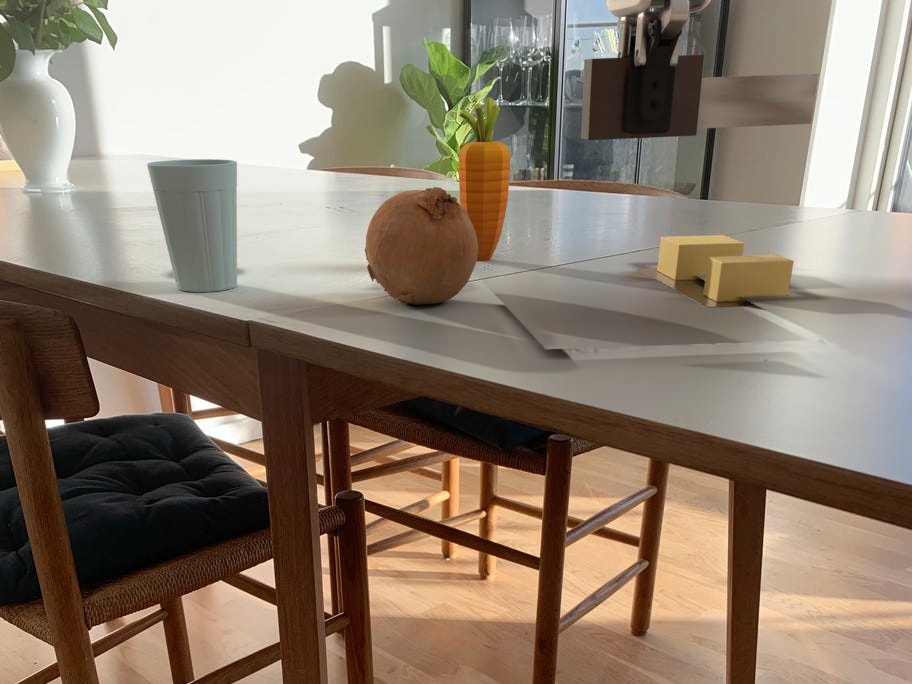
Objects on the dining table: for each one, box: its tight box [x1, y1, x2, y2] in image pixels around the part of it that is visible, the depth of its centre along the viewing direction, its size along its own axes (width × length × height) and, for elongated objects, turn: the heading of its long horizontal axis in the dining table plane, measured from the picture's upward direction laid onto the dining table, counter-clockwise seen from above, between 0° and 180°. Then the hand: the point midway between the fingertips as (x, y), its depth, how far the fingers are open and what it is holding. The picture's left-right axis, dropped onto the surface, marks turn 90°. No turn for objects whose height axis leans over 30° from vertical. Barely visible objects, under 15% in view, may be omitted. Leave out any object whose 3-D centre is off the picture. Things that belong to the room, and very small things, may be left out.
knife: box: [580, 54, 819, 141], centre depth 68 cm, size 17×2×5 cm, turn 96°
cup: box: [146, 158, 238, 293], centre depth 85 cm, size 8×8×10 cm
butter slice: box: [703, 254, 795, 302], centre depth 77 cm, size 6×3×3 cm, turn 97°
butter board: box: [636, 267, 758, 308], centre depth 83 cm, size 9×18×1 cm, turn 7°
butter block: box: [657, 234, 745, 280], centre depth 86 cm, size 6×5×3 cm
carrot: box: [458, 96, 511, 262], centre depth 92 cm, size 5×5×15 cm
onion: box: [364, 186, 478, 306], centre depth 79 cm, size 10×9×10 cm
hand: (640, 129), depth 69 cm, fingers closed on knife, 2 cm apart
